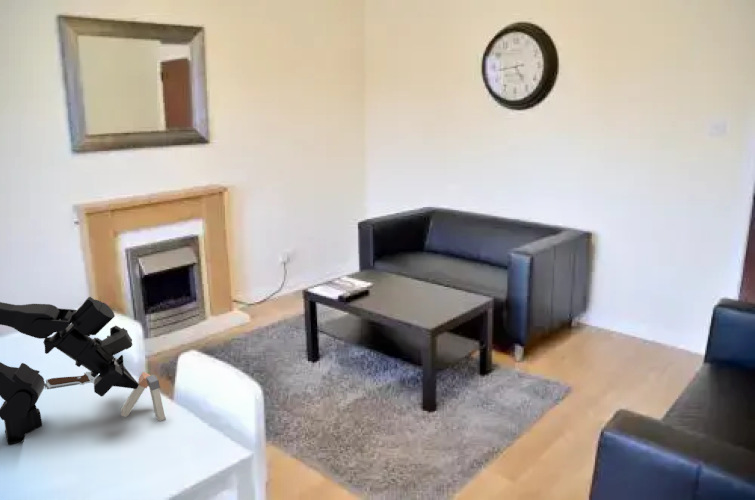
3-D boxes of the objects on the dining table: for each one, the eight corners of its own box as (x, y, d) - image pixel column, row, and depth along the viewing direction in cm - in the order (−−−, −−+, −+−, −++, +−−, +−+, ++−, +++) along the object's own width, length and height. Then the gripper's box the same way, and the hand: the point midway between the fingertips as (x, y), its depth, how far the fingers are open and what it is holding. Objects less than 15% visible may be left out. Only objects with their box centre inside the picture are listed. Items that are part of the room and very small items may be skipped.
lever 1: (120, 415, 138) (143, 378, 139) (119, 408, 141) (142, 371, 142) (127, 418, 139) (151, 380, 139) (127, 411, 142) (150, 374, 142)
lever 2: (158, 422, 137) (150, 382, 134) (154, 415, 140) (145, 377, 137) (166, 419, 138) (158, 379, 135) (162, 412, 141) (153, 374, 138)
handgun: (71, 415, 140) (123, 397, 148) (42, 379, 155) (90, 364, 163) (72, 425, 140) (124, 406, 148) (43, 387, 156) (91, 372, 164)
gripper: (108, 336, 126) (165, 377, 133) (108, 307, 142) (159, 345, 149) (68, 376, 124) (129, 415, 131) (73, 342, 141) (126, 379, 148)
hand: (137, 386), depth 140 cm, fingers closed, pressing on lever 1
